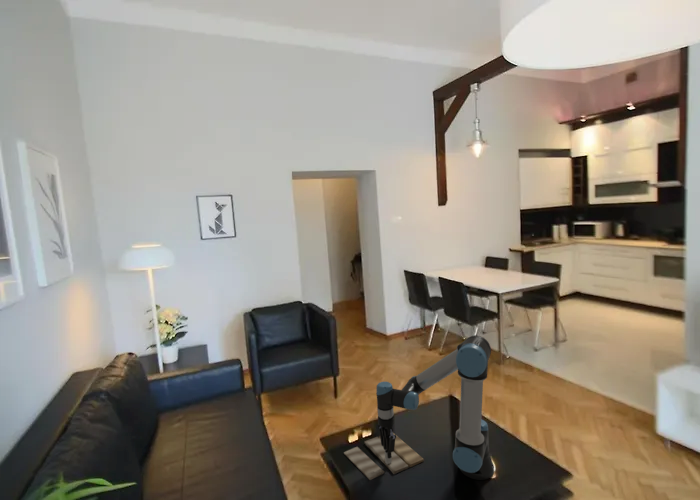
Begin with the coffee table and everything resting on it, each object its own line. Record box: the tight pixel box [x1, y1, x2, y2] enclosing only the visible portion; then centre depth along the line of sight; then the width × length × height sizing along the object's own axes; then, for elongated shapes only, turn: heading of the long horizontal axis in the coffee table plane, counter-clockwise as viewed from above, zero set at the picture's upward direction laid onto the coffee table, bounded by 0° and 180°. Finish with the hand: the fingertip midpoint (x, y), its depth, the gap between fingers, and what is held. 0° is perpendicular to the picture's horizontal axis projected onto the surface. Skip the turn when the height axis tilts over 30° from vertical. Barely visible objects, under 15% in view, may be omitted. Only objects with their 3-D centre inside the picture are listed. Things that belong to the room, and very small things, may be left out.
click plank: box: [364, 436, 409, 475], centre depth 186 cm, size 28×8×1 cm, turn 27°
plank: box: [343, 446, 385, 481], centre depth 182 cm, size 24×8×1 cm, turn 31°
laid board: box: [378, 432, 425, 468], centre depth 190 cm, size 28×8×1 cm, turn 27°
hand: (388, 462), depth 178 cm, fingers closed
